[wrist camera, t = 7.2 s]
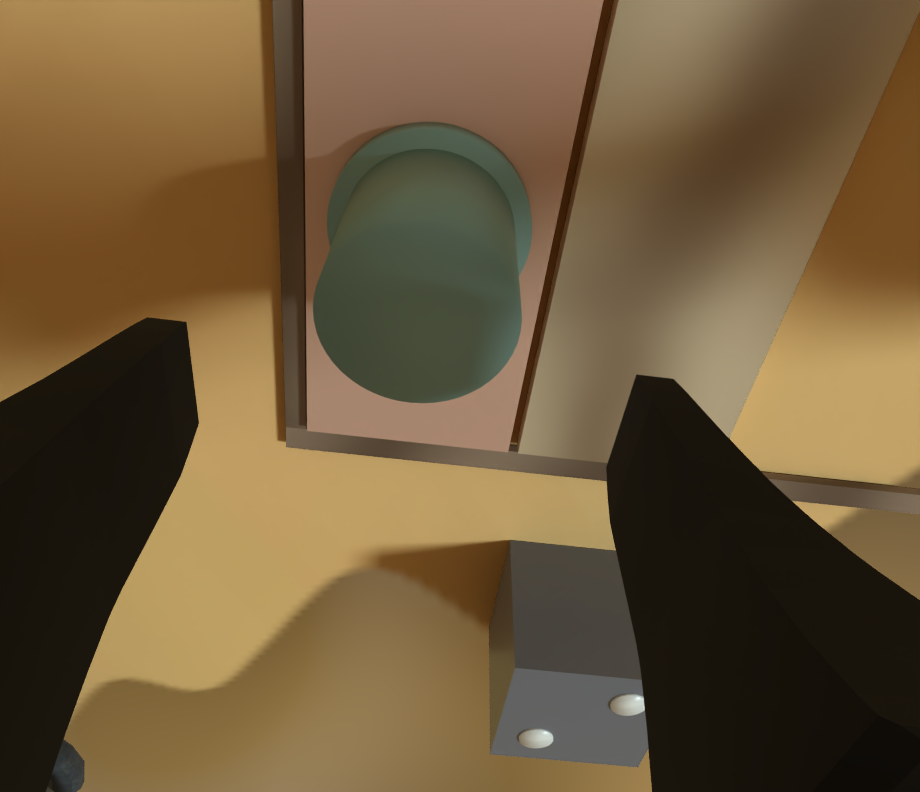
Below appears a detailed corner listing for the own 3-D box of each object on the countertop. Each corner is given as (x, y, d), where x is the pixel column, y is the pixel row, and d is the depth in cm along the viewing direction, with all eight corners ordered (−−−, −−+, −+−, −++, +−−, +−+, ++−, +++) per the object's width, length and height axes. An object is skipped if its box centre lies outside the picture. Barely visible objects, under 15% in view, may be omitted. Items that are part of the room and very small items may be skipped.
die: (652, 552, 26) (683, 686, 21) (616, 638, 29) (638, 769, 24) (510, 537, 25) (514, 669, 21) (489, 626, 28) (489, 756, 24)
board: (1360, -69, 14) (1391, -65, 14) (939, 509, 24) (948, 523, 23) (268, -235, 13) (260, -238, 13) (288, 440, 23) (284, 453, 22)
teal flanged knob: (547, 135, 16) (565, 217, 13) (513, 319, 19) (521, 428, 16) (332, 109, 16) (288, 185, 13) (330, 299, 19) (294, 405, 15)
